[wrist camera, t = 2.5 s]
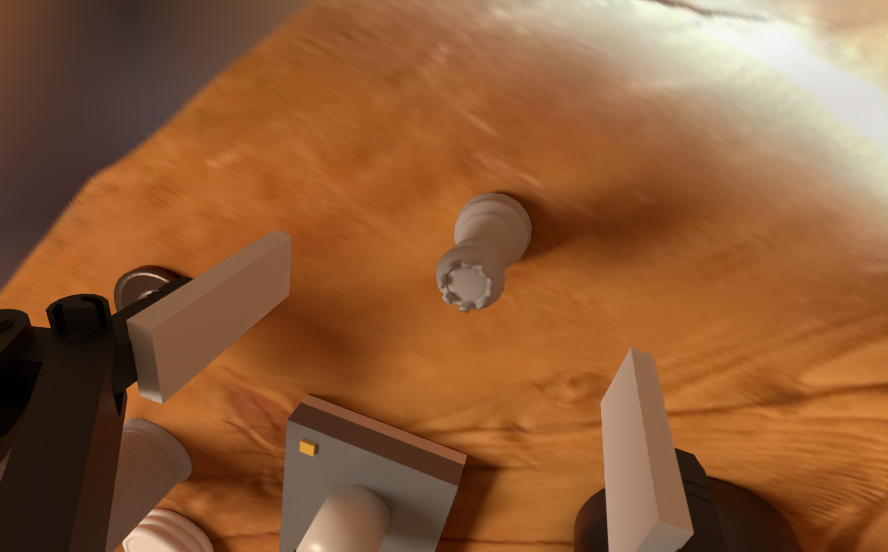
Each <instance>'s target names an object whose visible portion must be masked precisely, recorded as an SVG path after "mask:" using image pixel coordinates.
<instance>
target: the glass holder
mask: <svg viewBox="0 0 888 552" xmlns="http://www.w3.org/2000/svg"><path fill="white" fill-rule="evenodd" d="M191 472H192V463H191V459H190V457H189V455H188V453H187V451H186V450H185V448H184V447H183V446H182V444H181V443H180V442H179V441H178V440H177V439H176V438H175V437H174V436H173V435H172V434H170V433H169V432H168V431H166V430H165V429H163V428H162V427H160V426H158V425H157V424H154V423H152V422H150V421H146V420H143V419H130V420H127V421H126V422H124V425H123V432H122V439H121V445H120V452H119V459H118V466H117V473H116V480H115V487H114V494H113V501H112V508H111V514H110V521H109V528H108V535H107V542H106V549H105V552H113V551H114V550H115V549H116V548H117V547H118V546H119V545H120V544H121V543H122V542H123V541H124V539H125V538H126V537H127V536H128V535H129V534H130V533H131V532H132V531H133V530H134V529H135V528H136V527H137V526H138V524H139V523H140V522H141V521H142V520H143V519H144V518H145V517H146V516H147V515H148V514H149V513H150V512H151V511H152V510H153V508H154V507H155V506H156V505H157V504H158V503H159V502H160V501H161V500H162V499H163V498H164V497H165V496H166V495H167V493H168V492H169V491H170V490H171V489H172V488H173V487H174V486H175V485H177V484H178V483H180V482H182V481H184V480H186V479H187V478H188V477H189V476H190V475H191Z"/></svg>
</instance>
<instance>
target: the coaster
mask: <svg viewBox="0 0 888 552" xmlns="http://www.w3.org/2000/svg"><path fill="white" fill-rule="evenodd" d="M123 546H124V550H125V552H214V549H213V546H212V543H211V542H210V540H209V538H208V537H207V536H206V534H205V533H204V532H203V531H202V530H201V529H200V528H199V527H198V526H197V525H195V524H194V523H193V522H192V521H190V520H189V519H187V518H186V517H184V516H182V515H180V514H178V513H176V512H173V511H171V510H167V509H162V508H154V509H153V510H152V511H151V512H150V513H149V514H148V515H147V516H146V517H145V518H144V519H143V520H142V521H141V522H140V523H139V524H138V526H137V527H136V528H135V529H134V530H133V531H132V532H131V533H130V534H129V535H128V536H127V537H126V538H125V539H124V541H123Z"/></svg>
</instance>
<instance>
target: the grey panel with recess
mask: <svg viewBox="0 0 888 552" xmlns="http://www.w3.org/2000/svg"><path fill="white" fill-rule="evenodd" d="M466 458H467V455H466V454H463V453H460V452H458V451H455V450H453V449H450V448H447V447H445V446H442V445H439V444H437V443H434V442H432V441H429V440H426V439H424V438H421V437H418V436H416V435H413V434H411V433H408V432H405V431H403V430H400V429H398V428H395V427H392V426H390V425H387V424H384V423H382V422H379V421H377V420H374V419H371V418H369V417H366V416H363V415H361V414H358V413H356V412H353V411H350V410H348V409H345V408H342V407H340V406H337V405H335V404H332V403H329V402H327V401H324V400H321V399H319V398H316V397H314V396H311V395H308V394H307V395H306V397H305V398H304V399H303V400H302V402H301V403H300V404H299V405H298V407H297V408H296V409H295V410H294V412H293V413H292V414H291V415H290V417H289V418H288V419H287V431H286V447H285V464H284V480H283V497H282V513H281V530H280V546H279V552H435V550H436V547H437V544H438V541H439V539H440V536H441V533H442V530H443V528H444V525H445V522H446V519H447V517H448V514H449V511H450V508H451V506H452V503H453V500H454V497H455V495H456V492H457V489H458V486H459V483H460V479H461V476H462V472H463V468H464V465H465V461H466Z"/></svg>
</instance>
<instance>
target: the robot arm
mask: <svg viewBox="0 0 888 552" xmlns="http://www.w3.org/2000/svg"><path fill="white" fill-rule="evenodd" d="M291 247H292V236H291V235H288V234H285V233H281V232H278V231H275V230H274V231H272V232H270V233H269V234H267V235H265V236H264V237H262V238H260V239H259V240H257V241H256V242H254V243H252V244H251V245H249V246H247V247H246V248H244V249H242V250H241V251H239V252H237V253H236V254H234V255H233V256H231V257H229V258H228V259H226V260H224V261H223V262H221V263H219V264H218V265H216V266H215V267H213V268H211V269H210V270H208V271H206V272H205V273H203V274H201V275H200V276H198V277H197V278H195V279H192V278H189V277H184V278H181V279H177V280H174V281H171V282H169V283H167V284H165V285H163V286H162V287H160V288H158V289H156V291H153V292H151V293H150V294H148V295H146V296H145V298H141V299H139V300H138V301H136V302H134V303H132V304H131V305H129V306H127V307H125V308H124V309H122V310H120V311H119V312H117V313H115V314H113V315H112V316H111V312H110V307H109V302H108V300H107V299H105V298H104V297H103V296H99V295H95V294H78V295H71V296H68V297H65V298H61V299H59V300H57V301H55V302H54V303H52V304H50V306H49V307H48V308H47V309H46V313H47V316H48V320H49V323H50V327H51V328H44V327H34V326H31V323H30V320H29V317H28V314H26V313H24V312H23V311H20V310H14V309H0V463H1V462H2V460H3V459H4V457H5V456H6V455H7V453H8V452H9V450H10V449H11V448H12V446H13V448H12V451H11V453H10V456H9V459H8V462H7V464H6V467H5V470H4V473H3V476H2V478H1V481H0V552H105V549H106V542H107V535H108V528H109V521H110V514H111V508H112V501H113V494H114V487H115V480H116V473H117V466H118V459H119V452H120V445H121V439H122V432H123V425H124V418H125V411H126V404H127V392H126V389H127V388H128V387H129V386H131V385H132V384H133V383H135V382H136V381H137V382H138V388H139V393H140V395H141V396H143V397H146V398H148V399H151V400H153V401H156V402H158V403H161V404H163V403H164V402H166V401H167V400H168V399H169V398H170V397H171V396H173V395H174V394H175V393H176V392H177V391H178V390H179V389H181V388H182V387H183V386H184V385H185V384H186V383H188V382H189V381H190V380H191V379H192V378H193V377H195V376H196V375H197V374H198V373H199V372H200V371H202V370H203V369H204V368H205V367H206V366H207V365H208V364H210V363H211V362H212V361H213V360H214V359H215V358H217V357H218V356H219V355H220V354H221V353H222V352H224V351H225V350H226V349H227V348H228V347H229V346H230V345H232V344H233V343H234V342H235V341H236V340H237V339H239V338H240V337H241V336H242V335H243V334H244V333H246V332H247V331H248V330H249V329H250V328H251V327H252V326H254V325H255V324H256V323H257V322H258V321H259V320H261V319H262V318H263V317H264V316H265V315H266V314H268V313H269V312H270V311H271V310H272V309H273V308H275V307H276V306H277V305H278V304H279V303H280V302H281V301H283V300H284V299H285V298H286V297H287V296H288V295H289V292H290V270H291ZM601 417H602V435H603V453H604V472H605V488H604V489H602V490H600V491H599V492H597V493H596V494H594V495H593V496H592V497H591V498H590V499H589V500H588V501H587V502H586V503H585V504H584V505H583V507H582V508H581V509H580V511H579V513H578V515H577V518H576V521H575V526H574V552H803V550H802V548H801V545H800V543H799V541H798V538H797V536H796V534H795V532H794V530H793V529H792V527H791V526H790V524H789V523H788V522H787V521H786V519H785V518H784V517H783V516H782V515H781V514H780V513H779V512H778V511H777V510H775V509H774V508H773V507H772V506H770V505H769V504H768V503H766V502H765V501H763V500H762V499H760V498H758V497H757V496H755V495H753V494H751V493H749V492H747V491H745V490H742V489H740V488H738V487H735V486H733V485H730V484H727V483H724V482H720V481H717V480H713V479H708V478H707V476H706V473H705V471H704V469H703V468H702V466H701V465H700V463H699V462H698V460H697V459H696V457H695V456H694V454H691V453H688V452H685V451H682V450H679V449H677V448H674V444H673V440H672V436H671V431H670V427H669V423H668V418H667V414H666V410H665V405H664V401H663V397H662V392H661V388H660V384H659V379H658V375H657V371H656V366H655V362H654V358H653V355H652V354H649V353H646V352H643V351H640V350H637V349H634V348H630V350H629V352H628V353H627V355H626V357H625V359H624V361H623V363H622V365H621V366H620V368H619V370H618V372H617V374H616V376H615V377H614V379H613V381H612V383H611V385H610V387H609V389H608V390H607V392H606V394H605V396H604V398H603V400H602V401H601Z"/></svg>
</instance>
